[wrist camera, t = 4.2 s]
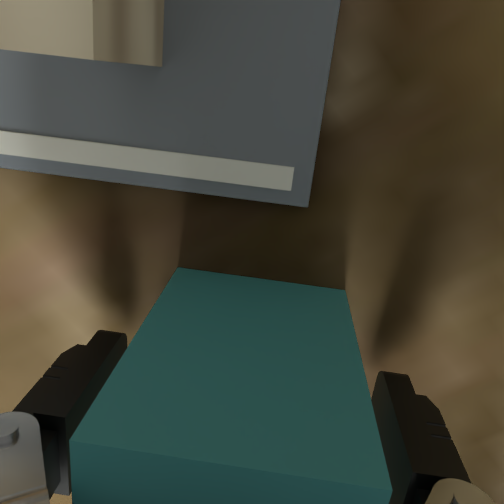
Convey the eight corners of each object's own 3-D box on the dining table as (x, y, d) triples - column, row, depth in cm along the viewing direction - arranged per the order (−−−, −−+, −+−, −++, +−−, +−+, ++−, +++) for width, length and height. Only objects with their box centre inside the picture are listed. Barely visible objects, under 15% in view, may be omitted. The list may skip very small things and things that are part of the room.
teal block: (345, 289, 13) (393, 490, 7) (317, 423, 15) (334, 684, 9) (177, 266, 14) (69, 439, 7) (170, 401, 15) (78, 639, 9)
